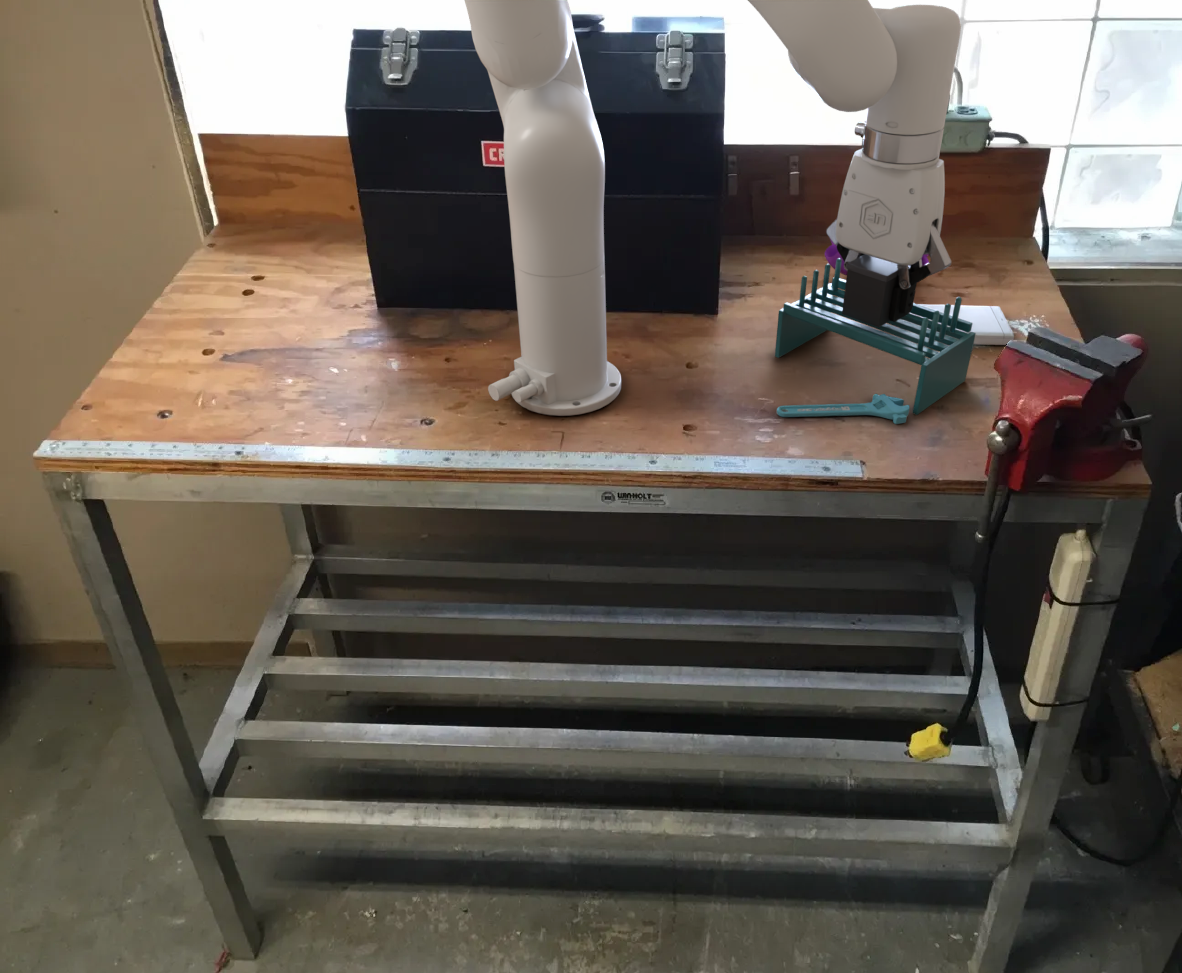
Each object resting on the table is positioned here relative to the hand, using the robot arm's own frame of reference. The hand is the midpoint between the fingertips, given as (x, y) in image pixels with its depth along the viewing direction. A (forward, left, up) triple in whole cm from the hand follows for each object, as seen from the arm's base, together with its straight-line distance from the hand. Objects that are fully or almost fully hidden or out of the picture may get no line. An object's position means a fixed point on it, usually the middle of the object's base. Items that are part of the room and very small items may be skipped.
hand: (877, 308), depth 109 cm
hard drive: (+15, -2, -8) cm, 17 cm away
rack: (0, 0, -8) cm, 8 cm away
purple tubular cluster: (+21, +13, -8) cm, 26 cm away
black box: (0, 0, 0) cm, 0 cm away
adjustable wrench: (-10, -4, -8) cm, 13 cm away
